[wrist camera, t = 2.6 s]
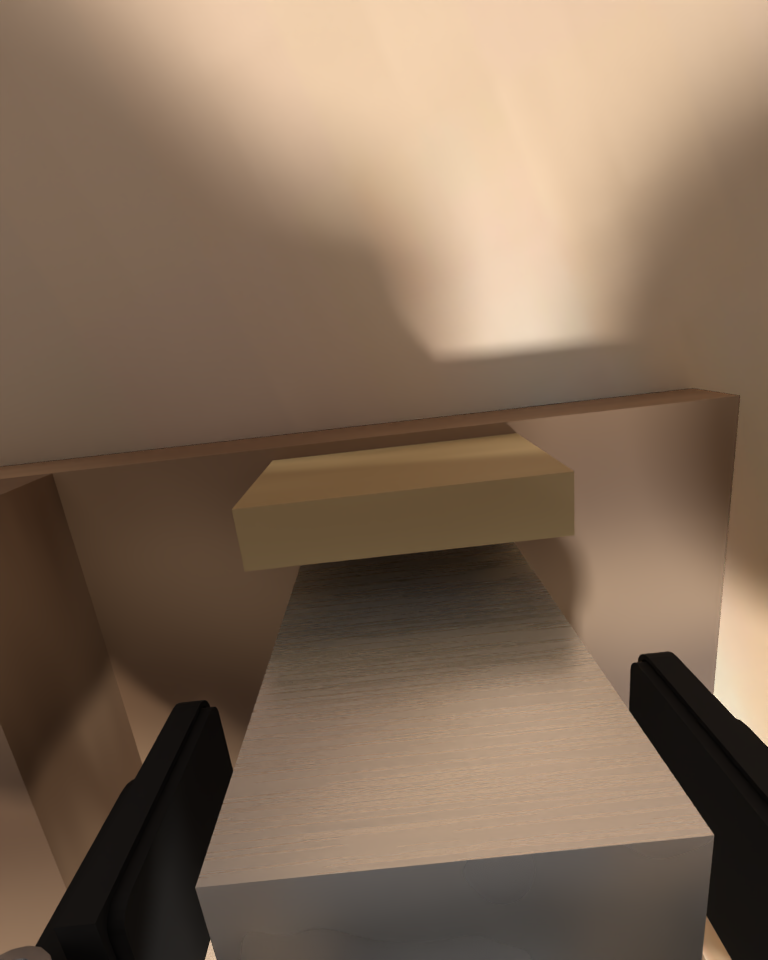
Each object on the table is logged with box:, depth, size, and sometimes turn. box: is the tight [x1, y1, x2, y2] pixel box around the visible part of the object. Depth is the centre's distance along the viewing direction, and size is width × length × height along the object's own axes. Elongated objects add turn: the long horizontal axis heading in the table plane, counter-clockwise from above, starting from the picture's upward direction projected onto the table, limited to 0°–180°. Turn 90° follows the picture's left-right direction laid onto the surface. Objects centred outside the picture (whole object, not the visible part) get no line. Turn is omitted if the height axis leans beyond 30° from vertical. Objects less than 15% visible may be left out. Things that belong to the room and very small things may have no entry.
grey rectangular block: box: [195, 542, 714, 960], centre depth 8 cm, size 8×4×7 cm, turn 6°
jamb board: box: [0, 388, 740, 955], centre depth 11 cm, size 12×30×4 cm, turn 96°
